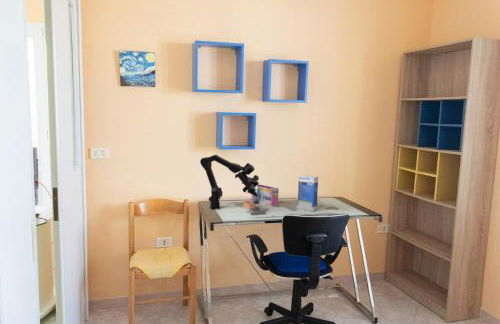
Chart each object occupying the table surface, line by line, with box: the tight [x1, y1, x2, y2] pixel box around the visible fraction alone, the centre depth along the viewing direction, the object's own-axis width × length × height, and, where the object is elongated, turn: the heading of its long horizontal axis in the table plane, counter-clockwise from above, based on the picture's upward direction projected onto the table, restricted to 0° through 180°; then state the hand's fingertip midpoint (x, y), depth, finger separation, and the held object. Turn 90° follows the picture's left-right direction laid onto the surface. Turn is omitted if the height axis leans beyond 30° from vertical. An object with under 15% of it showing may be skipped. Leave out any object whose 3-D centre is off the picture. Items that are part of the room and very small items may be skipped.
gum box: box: [251, 183, 280, 207], centre depth 316 cm, size 24×8×14 cm, turn 45°
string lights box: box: [297, 174, 319, 212], centre depth 299 cm, size 13×8×26 cm, turn 56°
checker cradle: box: [246, 207, 267, 217], centre depth 282 cm, size 11×11×4 cm
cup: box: [243, 200, 256, 210], centre depth 297 cm, size 8×8×5 cm
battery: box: [253, 186, 260, 205], centre depth 281 cm, size 4×4×13 cm
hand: (258, 195), depth 281 cm, fingers closed on battery, 4 cm apart
